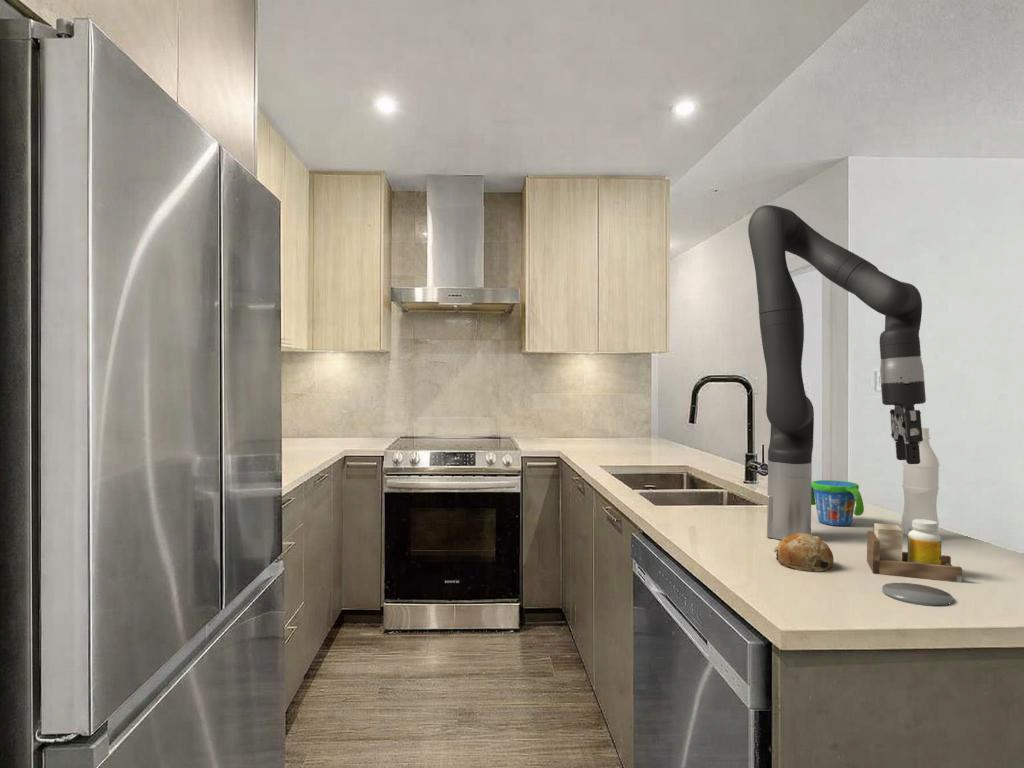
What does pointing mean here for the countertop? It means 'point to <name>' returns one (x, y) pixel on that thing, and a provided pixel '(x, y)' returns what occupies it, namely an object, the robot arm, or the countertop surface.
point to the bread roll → (804, 553)
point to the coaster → (916, 594)
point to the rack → (903, 557)
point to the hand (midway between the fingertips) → (908, 461)
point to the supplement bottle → (924, 543)
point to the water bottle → (920, 486)
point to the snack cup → (836, 501)
